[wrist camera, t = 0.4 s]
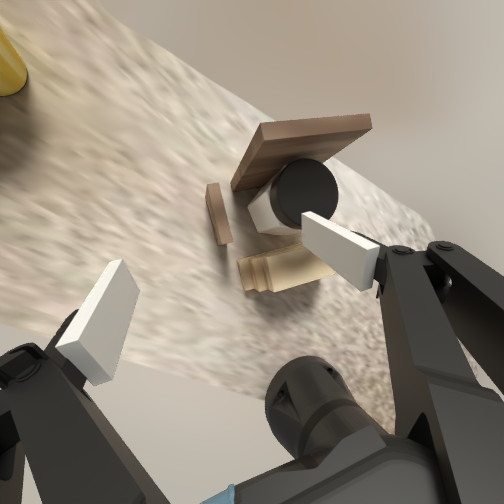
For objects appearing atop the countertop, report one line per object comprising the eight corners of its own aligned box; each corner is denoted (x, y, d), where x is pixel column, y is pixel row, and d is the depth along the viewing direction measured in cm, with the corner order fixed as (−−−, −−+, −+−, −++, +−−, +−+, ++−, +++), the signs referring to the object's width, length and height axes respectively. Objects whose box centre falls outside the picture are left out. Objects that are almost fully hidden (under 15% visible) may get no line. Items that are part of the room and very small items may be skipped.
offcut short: (324, 272, 33) (334, 274, 30) (268, 289, 30) (274, 292, 28) (318, 242, 32) (328, 241, 30) (261, 256, 30) (266, 257, 28)
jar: (275, 246, 35) (314, 245, 24) (238, 217, 33) (260, 200, 22) (303, 206, 36) (352, 186, 25) (268, 176, 35) (304, 139, 23)
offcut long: (322, 263, 38) (330, 264, 36) (242, 287, 34) (246, 290, 32) (316, 238, 38) (324, 237, 36) (235, 259, 34) (238, 260, 32)
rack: (306, 224, 37) (386, 205, 21) (217, 245, 32) (236, 241, 17) (295, 172, 36) (369, 113, 20) (202, 186, 32) (208, 127, 16)
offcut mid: (323, 268, 36) (332, 269, 33) (254, 288, 32) (259, 292, 30) (318, 240, 35) (326, 240, 33) (247, 258, 32) (251, 259, 30)
